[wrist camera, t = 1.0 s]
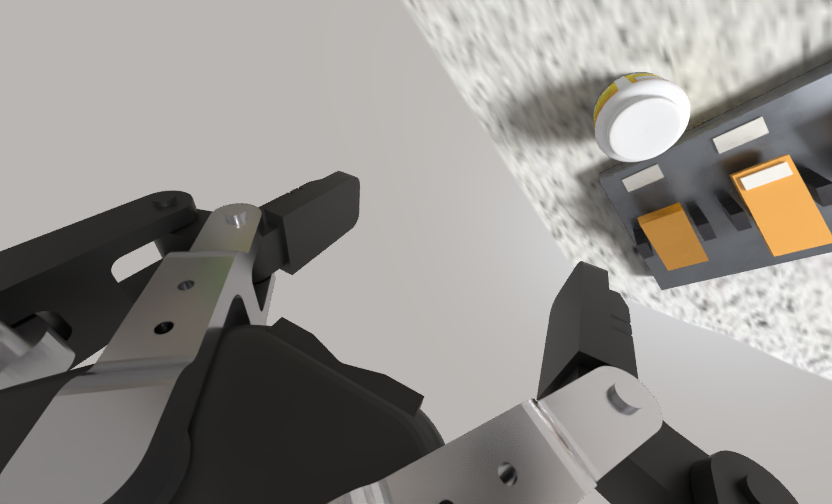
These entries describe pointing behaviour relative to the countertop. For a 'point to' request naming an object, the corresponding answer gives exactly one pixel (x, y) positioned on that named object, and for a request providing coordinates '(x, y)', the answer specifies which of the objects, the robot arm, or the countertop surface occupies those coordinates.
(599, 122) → the supplement bottle
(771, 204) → the middle breaker
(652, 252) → the breaker panel
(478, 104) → the countertop surface
